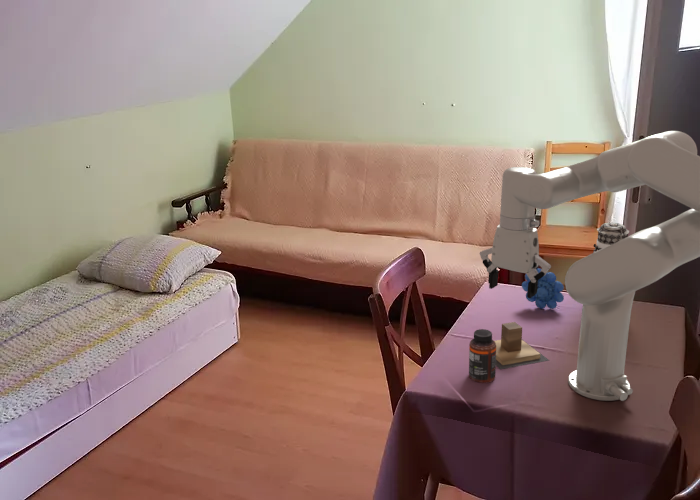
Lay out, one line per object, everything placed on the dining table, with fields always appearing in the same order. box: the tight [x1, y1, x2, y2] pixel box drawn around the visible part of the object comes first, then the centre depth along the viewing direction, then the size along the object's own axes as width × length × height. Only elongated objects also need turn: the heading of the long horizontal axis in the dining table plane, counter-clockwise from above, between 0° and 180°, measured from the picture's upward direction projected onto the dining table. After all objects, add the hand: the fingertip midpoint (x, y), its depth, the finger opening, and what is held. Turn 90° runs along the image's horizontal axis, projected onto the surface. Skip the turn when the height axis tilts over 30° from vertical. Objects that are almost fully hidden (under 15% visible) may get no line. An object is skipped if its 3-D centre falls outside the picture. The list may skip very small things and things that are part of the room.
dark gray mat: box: [496, 339, 550, 370], centre depth 154 cm, size 13×13×1 cm
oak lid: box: [494, 321, 541, 365], centre depth 153 cm, size 10×10×7 cm
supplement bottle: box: [468, 328, 497, 384], centre depth 142 cm, size 6×6×11 cm
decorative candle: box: [593, 222, 630, 253], centre depth 173 cm, size 9×9×25 cm
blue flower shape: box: [521, 267, 565, 310], centre depth 177 cm, size 12×7×12 cm, turn 70°
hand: (511, 291), depth 149 cm, fingers open, 9 cm apart
